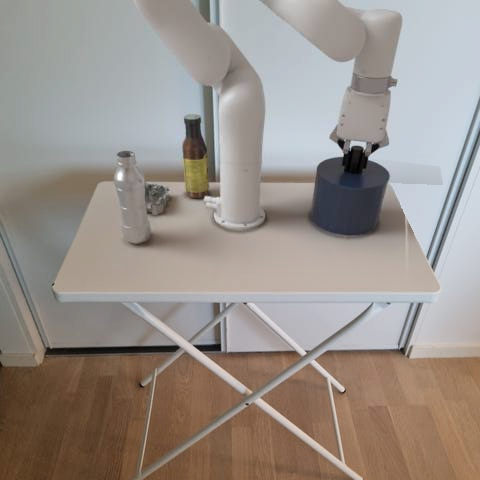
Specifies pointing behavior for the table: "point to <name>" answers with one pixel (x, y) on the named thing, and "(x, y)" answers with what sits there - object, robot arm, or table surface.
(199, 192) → the sauce bottle
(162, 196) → the grey metal casting
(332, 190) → the pot
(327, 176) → the pot lid
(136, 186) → the plastic bottle
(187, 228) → the table surface
